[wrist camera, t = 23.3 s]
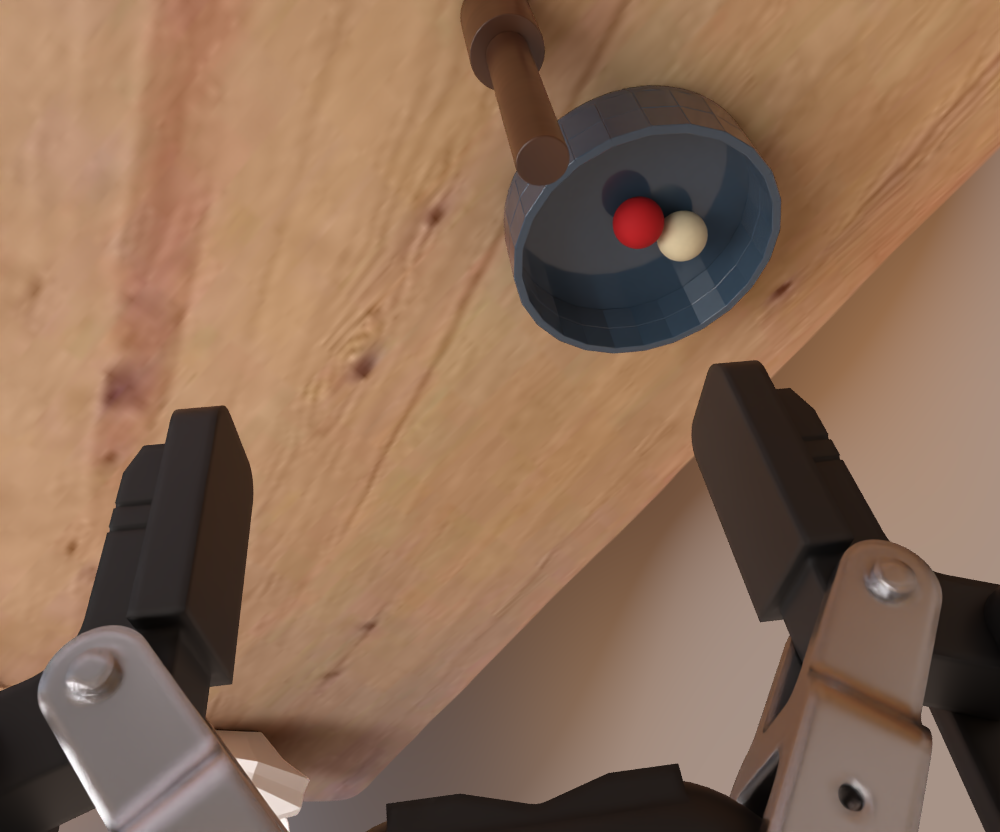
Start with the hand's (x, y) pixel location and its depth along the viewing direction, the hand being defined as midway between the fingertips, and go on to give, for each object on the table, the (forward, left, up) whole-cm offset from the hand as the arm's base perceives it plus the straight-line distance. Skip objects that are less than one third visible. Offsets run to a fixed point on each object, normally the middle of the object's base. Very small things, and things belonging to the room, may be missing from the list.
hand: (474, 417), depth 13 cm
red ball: (+2, +20, -28) cm, 34 cm away
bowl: (+2, +20, -30) cm, 36 cm away
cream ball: (+1, +22, -28) cm, 36 cm away
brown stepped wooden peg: (0, +6, -30) cm, 31 cm away
